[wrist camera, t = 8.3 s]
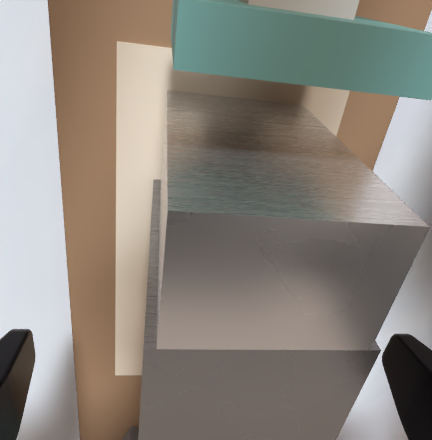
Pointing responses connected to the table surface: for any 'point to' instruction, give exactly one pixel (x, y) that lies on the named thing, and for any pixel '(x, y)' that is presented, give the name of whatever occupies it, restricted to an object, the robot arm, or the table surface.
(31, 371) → the robot arm
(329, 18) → the shaft coupling stand
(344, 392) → the block
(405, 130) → the table surface
